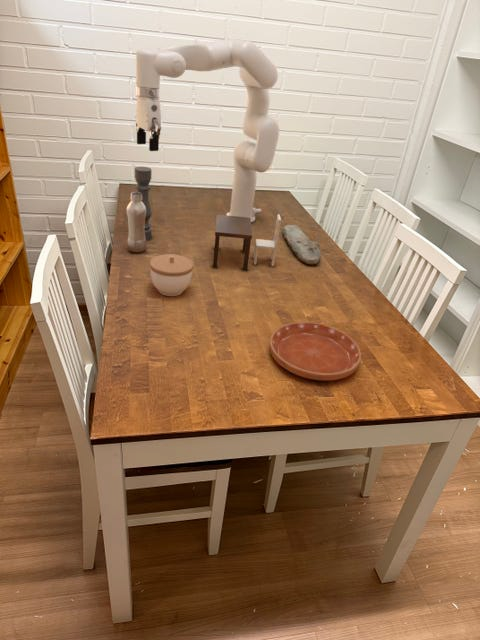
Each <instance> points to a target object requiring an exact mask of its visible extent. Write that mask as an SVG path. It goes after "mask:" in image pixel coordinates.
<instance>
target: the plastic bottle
mask: <svg viewBox="0 0 480 640" xmlns="http://www.w3.org/2000/svg"><path fill="white" fill-rule="evenodd" d="M130 200H131V201H130V202H129V203H128V205H127V206H126V217H127V223H128V235H127V241H126V245H127V249H128V250H129V252H132V253H142V252H144V251H145V250H146V249H147V241H146V238H145V217H146V207H145V205H144V204H143V202H142V200H143V198H142V193H139V192H137V191H134V192H131V193H130Z"/></svg>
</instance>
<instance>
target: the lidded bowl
mask: <svg viewBox="0 0 480 640" xmlns="http://www.w3.org/2000/svg"><path fill="white" fill-rule="evenodd" d="M193 270H194V262H193V261H192V259H190V258H188V257H186V256H184V255H180V254H175V253H166V254H164V253H163V254H159V255H156V256H153V257H152V258H151V259H150V260H149V273H150V274H149V275H150V281H151V283H152V285H153V286H154V288H155V289H156V290H157V291H158V292H159V293H160V294H161V295H163V296H166V297H176V296H179V295H181V294H183V292H184V291H185V290H187V289H188V288H189V286H190V284H191V281H192V279H193V278H192V277H193Z"/></svg>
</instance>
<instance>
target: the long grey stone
mask: <svg viewBox="0 0 480 640" xmlns="http://www.w3.org/2000/svg"><path fill="white" fill-rule="evenodd" d="M282 234H283V238H284V239H285V240H286V241H287V245H288V246H289V247H290V249H291V251H292V252H293V253H294V254H295V256H296V257H297V259H298V260H300V262H303V263H304V264H307V265H317V264H319V262H320V261H321V258H322V252H321V250H320V248H319V247H320V246H321V245H320V243H319V242H317V241H312V240H310V239H309V237H308V236H307V235H306V234H305V232H304V231H303V230H301V228H300V226H297V225H295V224H285V226H283V228H282Z"/></svg>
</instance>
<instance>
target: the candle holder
mask: <svg viewBox="0 0 480 640" xmlns="http://www.w3.org/2000/svg"><path fill="white" fill-rule="evenodd" d="M134 179H135V181H136V182H135V183H136V185H135V189H136V192H139V193H142V198H143V200H142V202H143V204H144V205H145V207H146V217H145V238H146V242H147V241H150V240H151V239H152V228H151V227H152V226H151V223H150V219H151V217H152V208H151V205H150V199H149V193H150V192H149V191H150V190H151V188H152V187H151V185H150V183H151V180H152V168H151V167H149V166H135V167H134Z"/></svg>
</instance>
